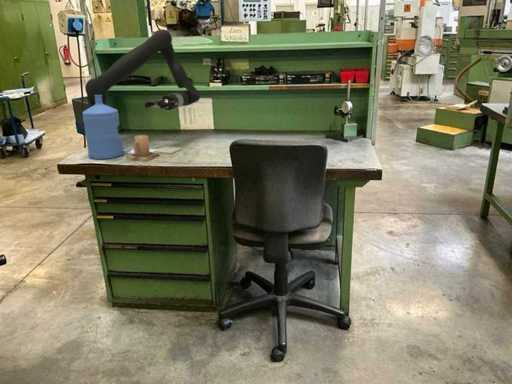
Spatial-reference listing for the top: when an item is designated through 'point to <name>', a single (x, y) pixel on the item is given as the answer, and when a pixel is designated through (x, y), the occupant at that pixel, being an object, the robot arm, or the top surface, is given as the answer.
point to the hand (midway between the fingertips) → (153, 105)
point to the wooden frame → (134, 157)
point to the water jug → (102, 131)
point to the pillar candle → (141, 146)
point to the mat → (168, 150)
